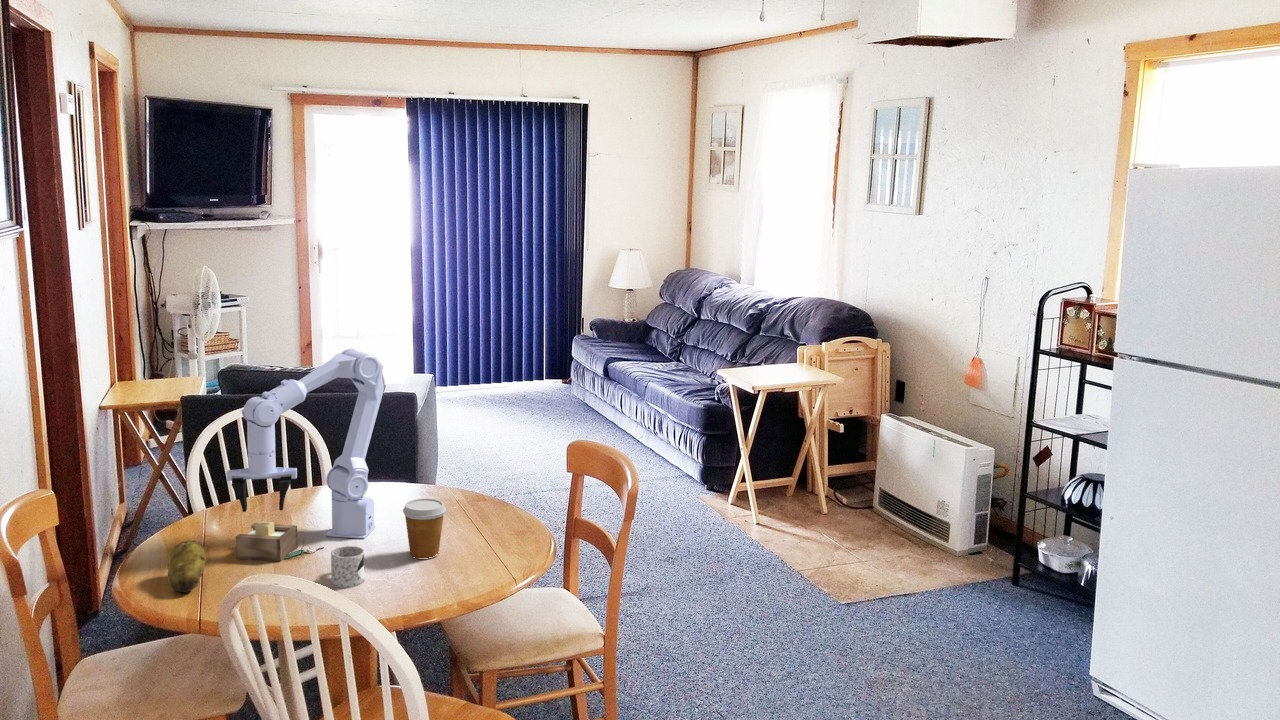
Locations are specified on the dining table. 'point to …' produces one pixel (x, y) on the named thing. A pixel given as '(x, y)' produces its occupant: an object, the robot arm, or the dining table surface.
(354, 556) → the mug
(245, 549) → the walnut box
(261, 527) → the cover plate
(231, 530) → the dining table surface
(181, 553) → the potato
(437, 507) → the disposable coffee cup
